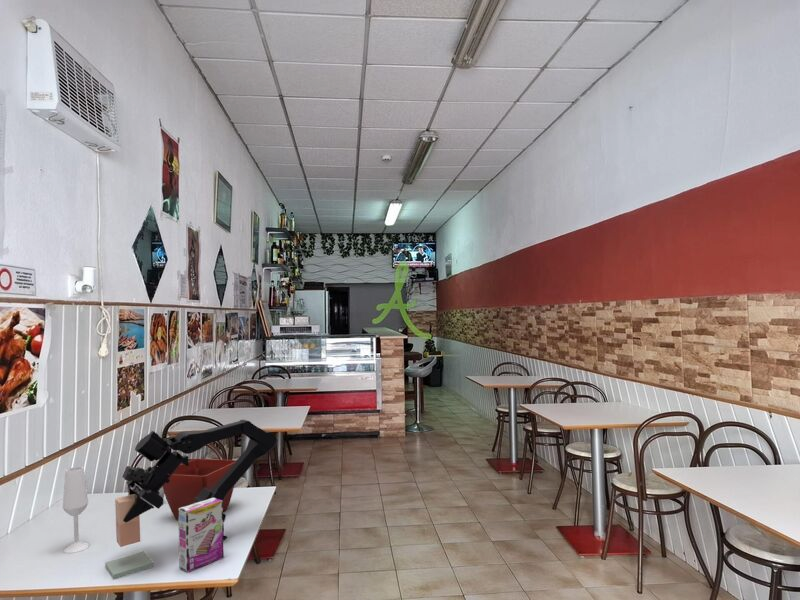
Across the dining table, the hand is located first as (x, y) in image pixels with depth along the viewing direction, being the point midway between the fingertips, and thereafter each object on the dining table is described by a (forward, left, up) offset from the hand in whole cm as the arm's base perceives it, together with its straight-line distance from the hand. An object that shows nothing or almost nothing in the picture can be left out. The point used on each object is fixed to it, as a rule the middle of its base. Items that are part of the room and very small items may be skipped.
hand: (122, 519), depth 148 cm
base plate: (-1, -1, -13) cm, 14 cm away
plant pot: (+6, -39, -14) cm, 42 cm away
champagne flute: (+26, -7, -14) cm, 30 cm away
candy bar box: (-20, -8, -14) cm, 25 cm away
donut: (+32, -45, -14) cm, 57 cm away
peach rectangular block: (-1, -1, -7) cm, 7 cm away
